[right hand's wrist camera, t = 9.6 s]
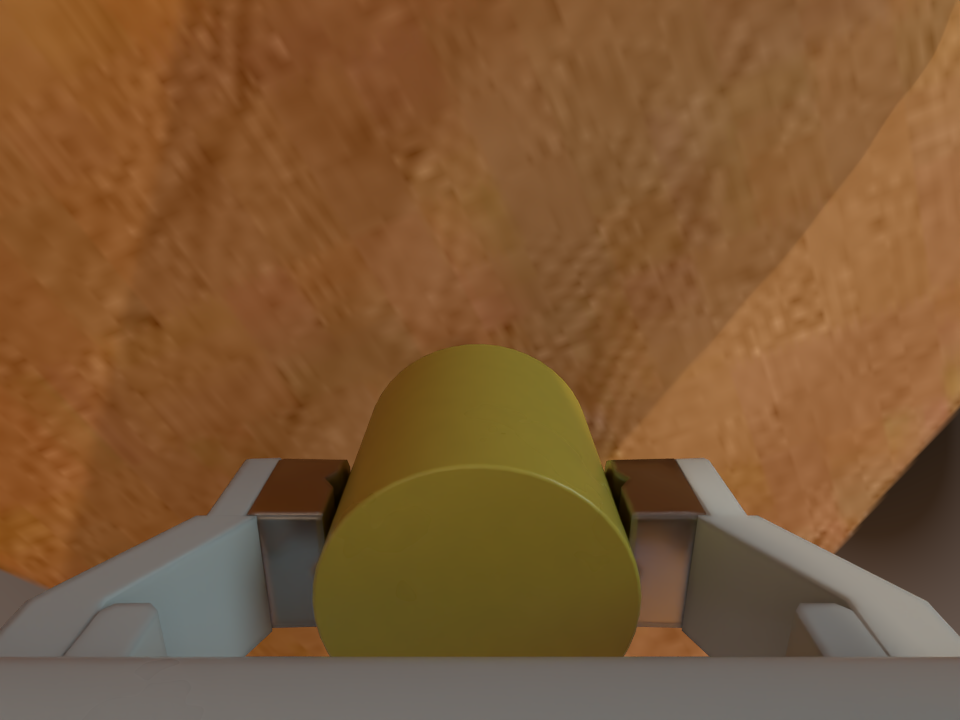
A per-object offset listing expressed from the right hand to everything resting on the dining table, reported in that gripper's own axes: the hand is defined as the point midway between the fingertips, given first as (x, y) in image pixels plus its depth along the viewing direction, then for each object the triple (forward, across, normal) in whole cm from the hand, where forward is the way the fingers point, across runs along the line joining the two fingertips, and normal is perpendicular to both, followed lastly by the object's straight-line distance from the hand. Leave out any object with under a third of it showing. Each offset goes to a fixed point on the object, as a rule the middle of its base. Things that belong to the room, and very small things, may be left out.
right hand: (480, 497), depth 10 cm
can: (+2, 0, 0) cm, 2 cm away
